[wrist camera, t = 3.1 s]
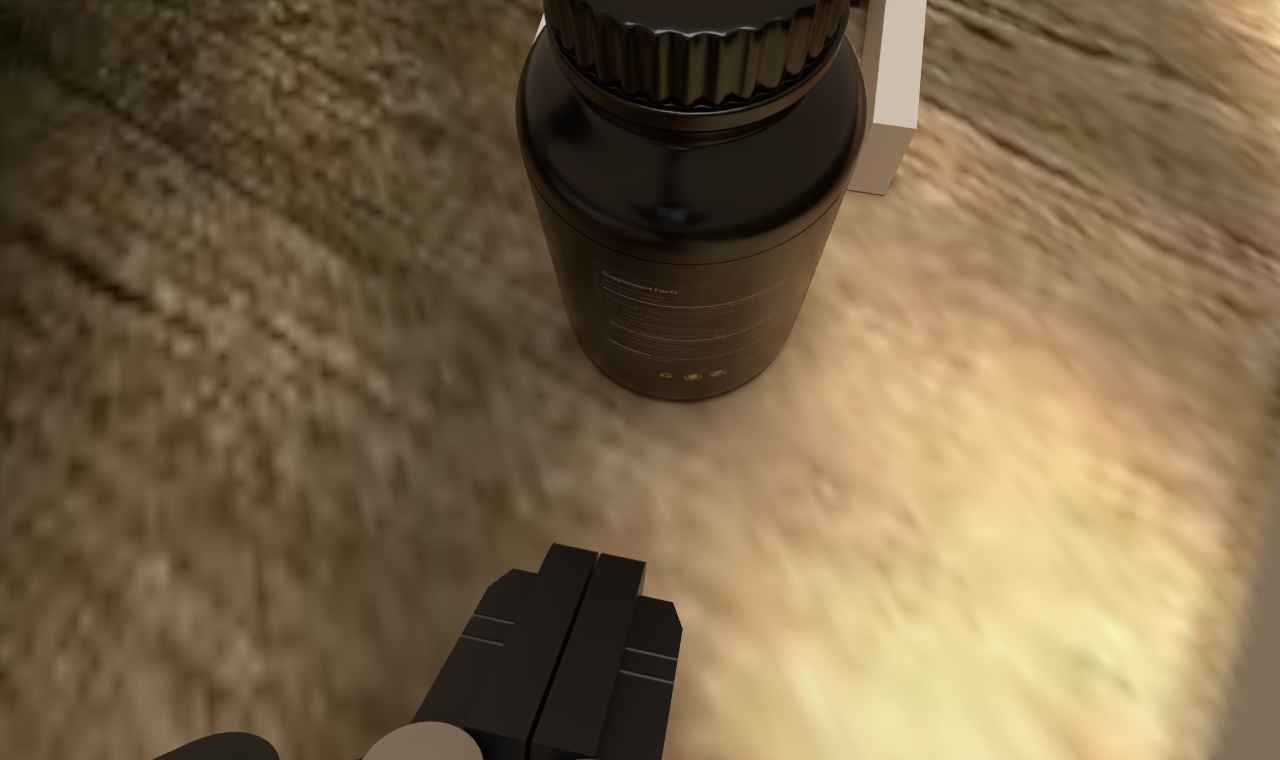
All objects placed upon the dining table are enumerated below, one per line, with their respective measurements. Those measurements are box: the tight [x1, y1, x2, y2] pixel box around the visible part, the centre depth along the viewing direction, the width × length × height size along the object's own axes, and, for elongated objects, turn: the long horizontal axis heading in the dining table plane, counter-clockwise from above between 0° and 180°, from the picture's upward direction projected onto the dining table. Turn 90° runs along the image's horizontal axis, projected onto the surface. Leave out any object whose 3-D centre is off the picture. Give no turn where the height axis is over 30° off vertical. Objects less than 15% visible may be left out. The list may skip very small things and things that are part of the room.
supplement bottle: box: [516, 0, 867, 399], centre depth 16 cm, size 7×7×12 cm
